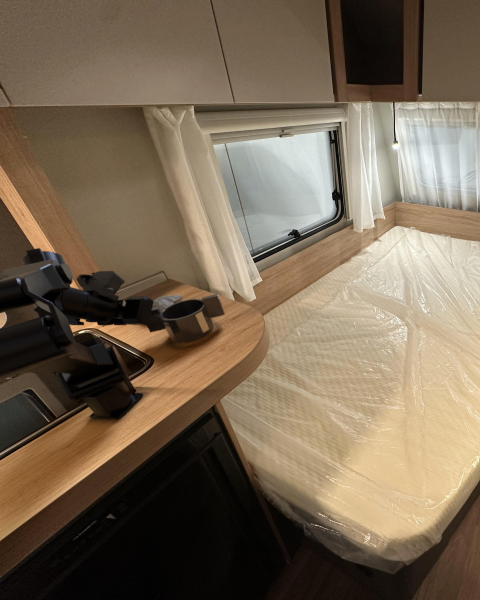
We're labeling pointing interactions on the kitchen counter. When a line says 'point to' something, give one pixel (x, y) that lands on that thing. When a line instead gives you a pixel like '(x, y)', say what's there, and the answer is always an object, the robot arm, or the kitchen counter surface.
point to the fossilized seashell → (166, 301)
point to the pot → (187, 318)
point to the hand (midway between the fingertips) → (140, 318)
